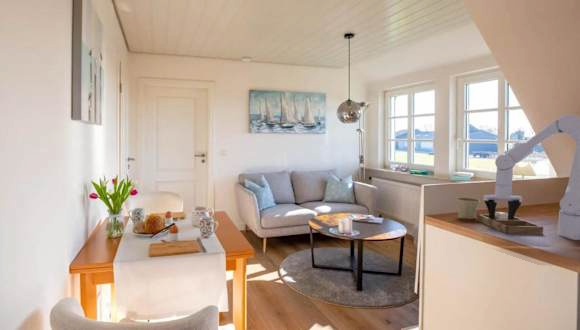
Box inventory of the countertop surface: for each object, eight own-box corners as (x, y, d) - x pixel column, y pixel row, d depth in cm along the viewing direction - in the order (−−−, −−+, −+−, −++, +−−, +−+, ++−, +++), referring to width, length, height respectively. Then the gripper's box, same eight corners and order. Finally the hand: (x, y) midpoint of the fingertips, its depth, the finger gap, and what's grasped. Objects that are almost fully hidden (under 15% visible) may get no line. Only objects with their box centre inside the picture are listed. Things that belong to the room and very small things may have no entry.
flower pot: (482, 219, 165) (483, 199, 164) (473, 222, 159) (474, 201, 158) (460, 215, 172) (461, 196, 171) (451, 218, 165) (452, 198, 165)
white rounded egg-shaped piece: (509, 225, 151) (510, 214, 150) (498, 225, 151) (499, 214, 150) (503, 222, 155) (504, 212, 155) (492, 222, 155) (493, 211, 155)
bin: (542, 236, 138) (543, 227, 138) (505, 235, 138) (506, 226, 138) (509, 223, 159) (510, 215, 158) (477, 222, 158) (477, 214, 158)
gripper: (515, 184, 156) (513, 216, 157) (480, 183, 156) (478, 216, 157) (526, 186, 149) (523, 220, 150) (489, 185, 149) (487, 219, 150)
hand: (501, 218), depth 153 cm, fingers open, 7 cm apart
